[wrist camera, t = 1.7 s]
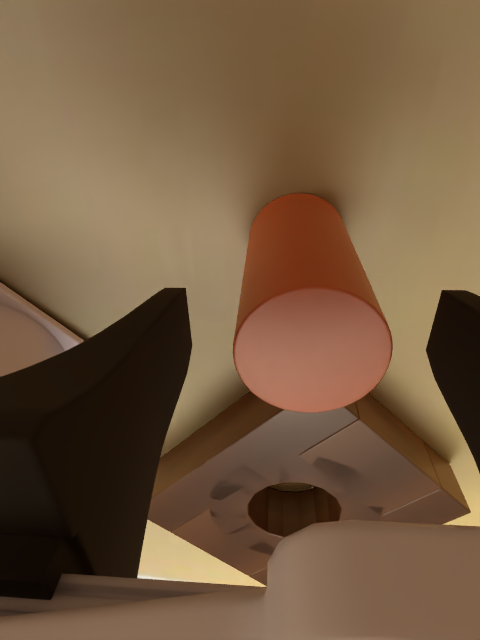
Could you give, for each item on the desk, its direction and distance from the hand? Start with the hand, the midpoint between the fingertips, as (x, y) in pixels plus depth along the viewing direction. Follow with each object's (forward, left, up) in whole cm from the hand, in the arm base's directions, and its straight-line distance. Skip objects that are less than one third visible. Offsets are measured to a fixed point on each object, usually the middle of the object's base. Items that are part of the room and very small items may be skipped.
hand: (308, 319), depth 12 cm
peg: (0, 0, -6) cm, 6 cm away
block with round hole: (+10, -10, -6) cm, 16 cm away
